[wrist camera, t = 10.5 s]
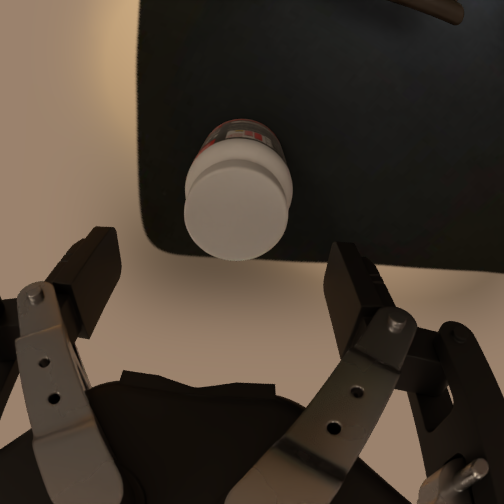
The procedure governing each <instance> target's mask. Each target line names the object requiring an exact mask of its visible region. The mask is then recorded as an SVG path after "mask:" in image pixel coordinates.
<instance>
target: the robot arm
mask: <svg viewBox="0 0 504 504" xmlns="http://www.w3.org/2000/svg"><path fill="white" fill-rule="evenodd" d="M121 267H122V265H121V258H120V252H119V245H118V239H117V232H116V230H115V228H114V227H98V226H96V227H94V228H93V229H92V231H91V232H90V233H89V234H88V236H87V237H86V238H85V239H81V240H80V241H78V242H77V243H75V244H74V245H72V247H71V248H70V249H69V250H68V251H67V253H66V255H64V256H63V258H62V259H61V261H60V262H59V263H58V264H57V265H56V267H55V268H54V269H53V271H52V272H51V273H50V274H49V276H48V277H47V279H46V280H45V281H40V282H35V283H32V284H30V285H28V286H26V287H25V288H23V289H22V290H21V291H20V293H19V294H18V296H17V298H14V299H5V300H2V299H1V297H0V419H1V416H2V413H3V411H4V408H5V406H6V403H7V401H8V398H9V396H10V393H11V391H12V389H13V386H14V384H15V382H16V379H17V377H18V375H19V373H20V378H21V384H22V389H23V393H24V398H25V403H26V408H27V412H28V416H29V420H30V424H31V427H32V428H31V429H30V430H28V431H27V432H25V433H24V434H22V435H21V436H19V437H18V438H16V439H15V440H14V441H12V442H11V443H9V444H8V445H6V446H5V447H3V448H2V449H0V504H412V503H411V502H409V501H408V500H407V499H406V498H405V497H403V496H402V495H401V494H400V493H399V492H397V491H396V490H395V489H394V488H393V487H392V486H391V485H390V484H388V483H387V482H386V481H385V480H384V479H383V478H382V477H380V476H379V475H378V474H377V473H376V472H375V471H374V470H373V469H371V468H370V467H369V466H368V465H367V464H366V463H365V462H364V461H363V460H362V459H361V458H359V457H358V456H359V454H360V452H361V451H362V449H363V447H364V445H365V444H366V442H367V440H368V438H369V437H370V435H371V433H372V431H373V429H374V428H375V426H376V424H377V422H378V420H379V418H380V416H381V414H382V412H383V410H384V408H385V406H386V404H387V402H388V400H389V398H390V396H391V394H392V392H393V390H394V389H398V390H403V391H407V394H408V398H409V402H410V405H411V409H412V413H413V417H414V421H415V425H416V429H417V434H418V438H419V442H420V446H421V451H422V455H423V461H424V466H425V471H426V476H427V479H426V480H425V481H424V482H423V483H422V485H421V487H420V490H419V499H418V501H417V504H504V397H503V395H502V393H501V390H500V388H499V386H498V383H497V381H496V379H495V377H494V375H493V373H492V370H491V368H490V366H489V364H488V362H487V360H486V358H485V356H484V354H483V352H482V350H481V348H480V346H479V344H478V342H477V340H476V338H475V336H474V334H473V333H472V332H471V330H469V329H468V328H467V327H466V326H464V325H463V324H461V323H458V322H454V321H448V322H445V323H443V324H442V326H441V327H440V329H439V331H438V332H436V331H431V330H427V329H423V328H419V327H417V323H416V321H415V319H414V318H413V317H412V315H410V314H409V313H408V312H407V311H405V310H403V309H401V308H398V307H396V306H395V304H394V302H393V300H392V298H391V296H390V294H389V292H388V289H387V287H386V285H385V284H384V281H383V279H382V277H381V276H380V274H379V272H378V270H377V268H376V266H375V265H374V264H373V263H372V262H371V261H370V260H369V259H368V258H366V257H361V256H360V254H359V252H358V250H357V248H356V246H355V244H354V243H345V242H333V244H332V247H331V251H330V255H329V259H328V264H327V268H326V272H325V276H324V284H323V286H324V295H325V298H326V302H327V306H328V310H329V314H330V318H331V322H332V326H333V330H334V334H335V338H336V342H337V346H338V350H339V354H340V359H342V360H341V361H340V363H339V364H338V365H337V367H336V368H335V370H334V371H333V372H332V374H331V375H330V377H329V378H328V380H327V381H326V382H325V383H324V385H323V386H322V388H321V389H320V390H319V392H318V393H317V394H316V396H315V397H314V398H313V400H312V401H311V402H310V403H309V405H308V406H307V407H306V408H305V407H304V406H302V405H300V404H299V403H296V402H294V401H292V400H290V399H287V398H284V397H281V396H277V395H275V394H276V393H275V384H257V383H230V384H223V385H216V386H209V387H200V388H196V387H191V386H188V385H185V384H182V383H179V382H176V381H173V380H170V379H167V378H164V377H162V376H159V375H152V374H145V373H138V372H132V371H125V370H123V372H122V375H121V378H120V381H113V382H108V383H104V384H100V385H98V386H95V387H91V385H90V382H89V379H88V377H87V374H86V372H85V369H84V366H83V364H82V361H81V358H80V355H79V352H78V350H77V347H76V345H75V341H76V339H77V337H79V338H85V339H90V337H91V335H92V333H93V330H94V328H95V326H96V324H97V322H98V320H99V318H100V316H101V314H102V312H103V309H104V307H105V305H106V304H107V302H108V300H109V298H110V295H111V294H112V292H113V290H114V288H115V286H116V284H117V282H118V280H119V278H120V275H121ZM448 385H449V387H450V390H451V393H452V396H453V401H454V403H453V404H452V401H451V398H450V395H449V392H448V389H447V386H448Z"/></svg>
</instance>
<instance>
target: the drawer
mask: <svg viewBox="0 0 504 504" xmlns="http://www.w3.org/2000/svg"><path fill="white" fill-rule="evenodd" d="M387 1H391V2H394V3H397V4H400V5H403V6H406V7H409V8H412V9H415V10H417V11H420V12H423V13H425V14H428V15H431V16H433V17H436V18H438V19H440V20H443V21H445V22H448V23H450V24H452V25H459V24H460V23H461V22H462V20H463V17H464V9H463V7H462V5H461V4H460V3H458V2H457V0H387Z"/></svg>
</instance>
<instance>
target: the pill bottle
mask: <svg viewBox="0 0 504 504" xmlns="http://www.w3.org/2000/svg"><path fill="white" fill-rule="evenodd" d="M292 194H293V186H292V179H291V174H290V171H289V168H288V166H287V163H286V160H285V157H284V154H283V151H282V148H281V145H280V142H279V141H278V139H277V137H276V136H275V134H274V133H273V132H272V131H271V130H270V129H269V128H268V127H266V126H265V125H263V124H261V123H259V122H257V121H254V120H250V119H234V120H230V121H227V122H225V123H223V124H221V125H219V126H218V127H217V128H215V129H214V130H213V131H212V132H211V133H210V134H209V136H208V137H207V138H206V140H205V142H204V144H203V146H202V147H201V149H200V151H199V153H198V155H197V156H196V158H195V160H194V161H193V163H192V165H191V167H190V169H189V172H188V175H187V178H186V184H185V195H186V202H185V207H184V220H185V224H186V227H187V230H188V232H189V234H190V236H191V238H192V239H193V240H194V242H195V243H196V244H197V245H198V246H199V247H200V248H201V249H203V250H204V251H205V252H207V253H208V254H210V255H212V256H215V257H217V258H220V259H224V260H230V261H242V260H249V259H253V258H255V257H258V256H260V255H262V254H264V253H266V252H267V251H269V250H270V249H271V248H272V247H274V246H275V245H276V244H277V243H278V241H279V240H280V238H281V237H282V235H283V233H284V231H285V229H286V226H287V222H288V209H289V207H290V204H291V200H292Z"/></svg>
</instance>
